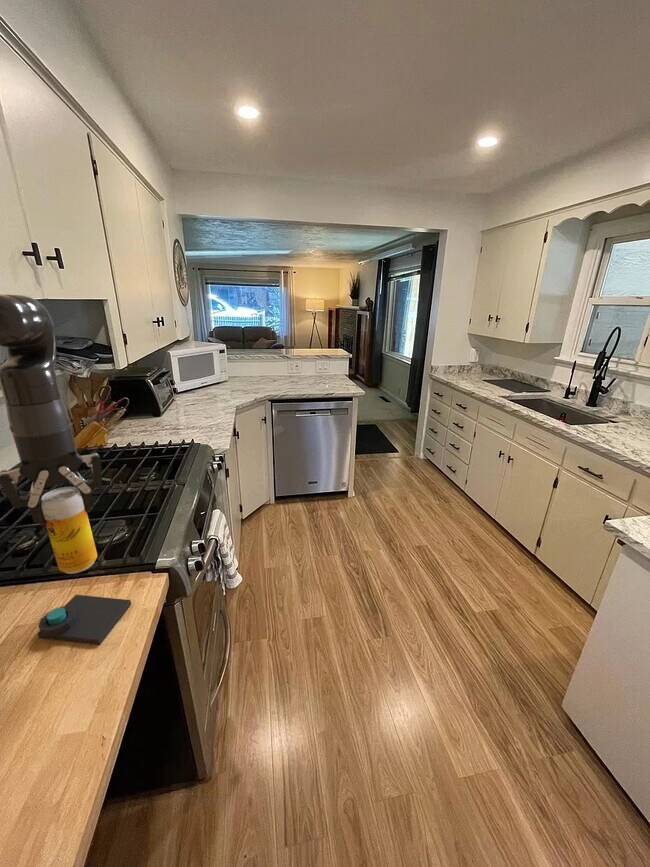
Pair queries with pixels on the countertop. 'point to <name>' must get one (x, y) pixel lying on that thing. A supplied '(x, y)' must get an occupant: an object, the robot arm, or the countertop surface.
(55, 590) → the countertop surface
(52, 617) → the button
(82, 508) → the beer can
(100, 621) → the scale
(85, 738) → the countertop surface
